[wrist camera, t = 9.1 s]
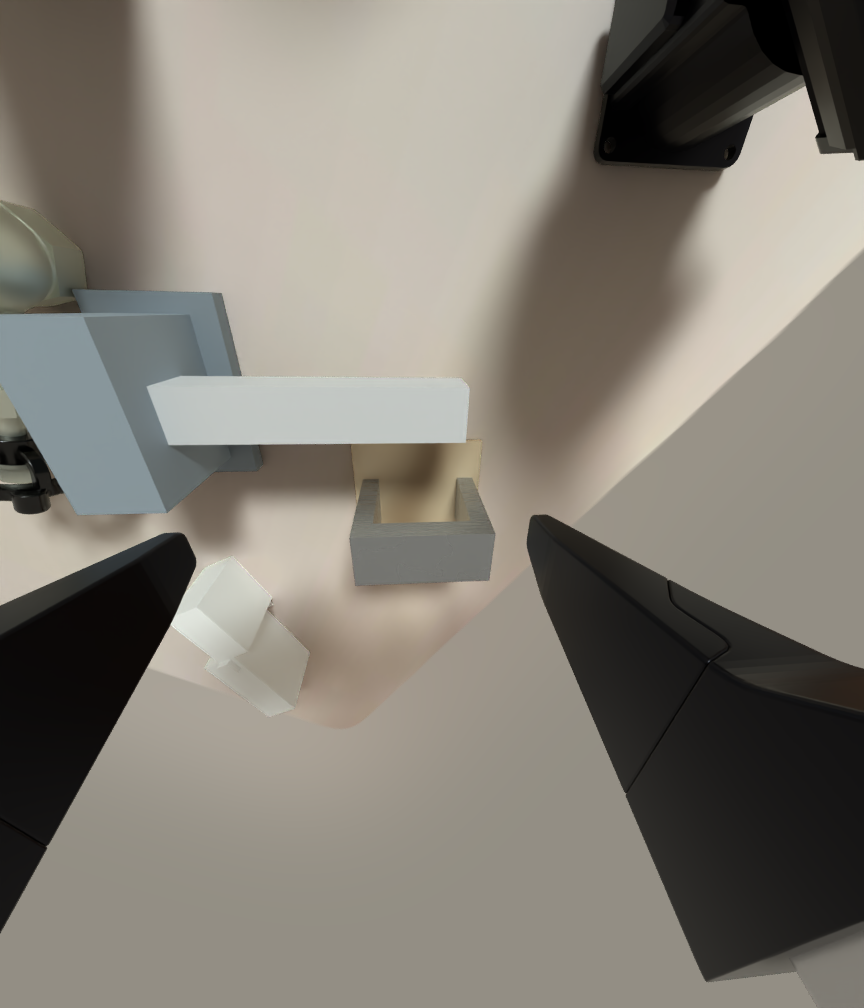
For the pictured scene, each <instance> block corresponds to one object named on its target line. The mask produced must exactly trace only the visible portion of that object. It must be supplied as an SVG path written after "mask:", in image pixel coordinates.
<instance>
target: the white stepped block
mask: <svg viewBox="0 0 864 1008" xmlns="http://www.w3.org/2000/svg"><path fill="white" fill-rule="evenodd" d="M271 599H272V596H271V595H270V594H269V593H268V592H267V591H266V590H265V589H264V588H263V587H262V586H261V585H260V584H259V583H258V582H257V581H256V580H255V579H254V578H253V577H252V576H251V575H250V573H249V572H248V571H247V570H246V569H245V568H244V567H243V566H242V565H241V564H240V563H239V562H238V561H237V560H236V559H235V558H234V557H233V556H230V557H228V558H225V559H223V560H221V561H219V562H216V563H214V564H212V565H209V566H207V567H205V568H204V569H203V571H202V572H201V573H200V575H199V576H198V577H197V579H196V580H195V581H194V583H193V584H192V585H191V586H190V588H189V589H188V590H187V592H186V593H185V594H184V596H183V598H182V601H181V603H180V605H179V608H178V610H177V612H176V615H175V617H174V619H173V621H172V623H171V626H172V627H173V628H175V629H176V630H177V631H179V632H180V633H181V634H182V635H184V636H185V637H186V638H187V639H189V640H190V641H191V642H192V643H194V644H195V645H196V646H197V647H199V648H200V649H201V650H202V651H204V652H205V653H206V654H208V655H209V656H210V658H209V660H208V662H207V664H206V666H205V668H204V669H205V670H207V671H208V672H209V673H211V674H212V675H213V676H215V677H216V678H217V679H219V680H220V681H221V682H223V683H224V684H225V685H226V686H228V687H229V688H230V689H232V690H233V691H234V692H236V693H237V694H238V695H240V696H241V697H242V698H244V699H245V700H246V701H248V702H249V703H250V704H252V705H253V706H254V707H255V708H257V709H258V710H259V711H261V712H262V713H264V714H265V715H266V716H267V717H272V716H275V715H278V714H281V713H284V712H286V711H289V710H292V709H295V707H296V703H297V700H298V696H299V692H300V688H301V685H302V681H303V677H304V674H305V670H306V666H307V662H308V659H309V655H310V652H309V651H308V650H307V649H306V648H305V647H304V646H303V645H302V644H301V643H300V642H299V641H298V640H297V639H296V638H295V637H294V636H293V635H292V634H291V633H290V632H289V631H288V630H287V629H286V628H285V627H284V626H283V625H282V624H281V623H280V622H279V621H278V620H277V619H276V618H275V617H274V616H273V615H272V614H271V613H270V612H269V611H268V610H267V608H268V607H270V606H273V605H274V604H273V603H272V602H271Z"/></svg>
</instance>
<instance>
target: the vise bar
mask: <svg viewBox="0 0 864 1008" xmlns="http://www.w3.org/2000/svg"><path fill="white" fill-rule="evenodd" d="M72 292H73V294H74V296H75V299H76V301H77V303H78V306H79V308H80V310H81V313H56V314H0V383H1V385H2V387H3V389H4V390H5V392H6V394H7V395H8V397H9V399H10V401H11V402H12V404H13V406H14V407H15V409H16V411H17V413H18V414H19V416H20V418H21V419H22V421H23V423H24V425H25V426H26V428H27V430H28V431H29V433H30V435H31V437H32V438H33V440H34V442H35V443H36V445H37V447H38V449H39V450H40V452H41V454H42V455H43V457H44V459H45V461H46V462H47V464H48V466H49V468H50V469H51V471H52V473H53V474H54V476H55V478H56V480H57V481H58V483H59V485H60V486H61V488H62V490H63V492H64V493H65V495H66V497H67V498H68V500H69V502H70V504H71V505H72V507H73V509H74V510H75V512H76V514H77V515H99V514H145V513H168V512H169V511H170V510H171V509H172V508H173V507H174V506H176V505H177V504H178V503H179V502H180V501H181V500H183V499H184V498H185V497H186V496H187V495H188V494H189V493H191V492H192V491H193V490H194V489H195V488H196V487H198V486H199V485H200V484H201V483H202V482H203V481H204V480H206V479H207V478H208V477H209V476H210V475H211V474H212V473H214V472H238V471H258V470H259V469H260V468H261V467H262V465H263V461H262V457H261V453H260V449H259V445H258V444H382V443H466V433H467V419H468V405H469V391H470V388H469V386H468V385H467V384H466V383H465V382H464V381H463V379H462V378H415V377H267V376H241V371H240V367H239V363H238V359H237V355H236V351H235V347H234V343H233V339H232V335H231V331H230V326H229V322H228V318H227V314H226V310H225V306H224V302H223V298H222V294H221V293H209V292H168V291H127V290H86V289H72Z"/></svg>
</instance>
